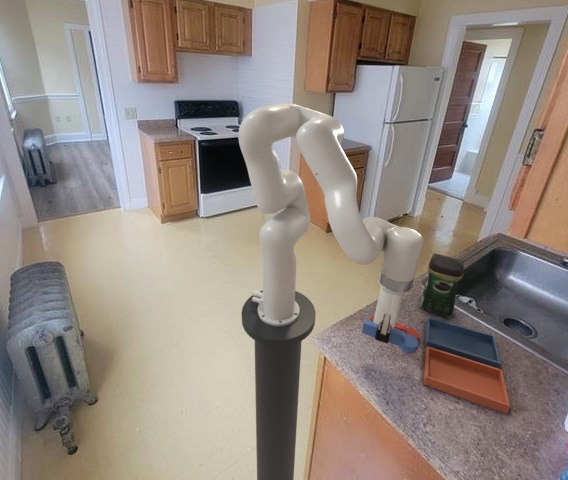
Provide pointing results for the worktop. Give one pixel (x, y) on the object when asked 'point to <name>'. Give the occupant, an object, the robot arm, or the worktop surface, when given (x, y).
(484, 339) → the tray blue
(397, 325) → the red bar with disc
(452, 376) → the tray orange
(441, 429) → the worktop surface
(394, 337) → the blue bar with disc
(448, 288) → the coffee jar
